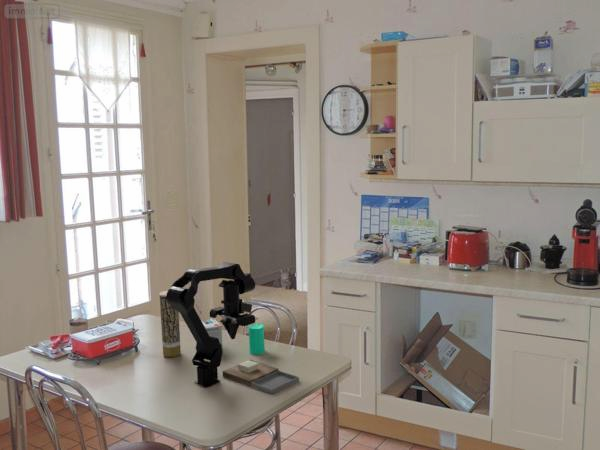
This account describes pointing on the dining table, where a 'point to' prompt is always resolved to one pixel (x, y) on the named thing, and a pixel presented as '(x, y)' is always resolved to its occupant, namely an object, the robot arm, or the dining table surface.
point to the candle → (256, 339)
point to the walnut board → (249, 377)
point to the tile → (248, 366)
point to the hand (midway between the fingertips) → (233, 338)
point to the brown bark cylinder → (169, 327)
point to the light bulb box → (213, 328)
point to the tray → (274, 382)
